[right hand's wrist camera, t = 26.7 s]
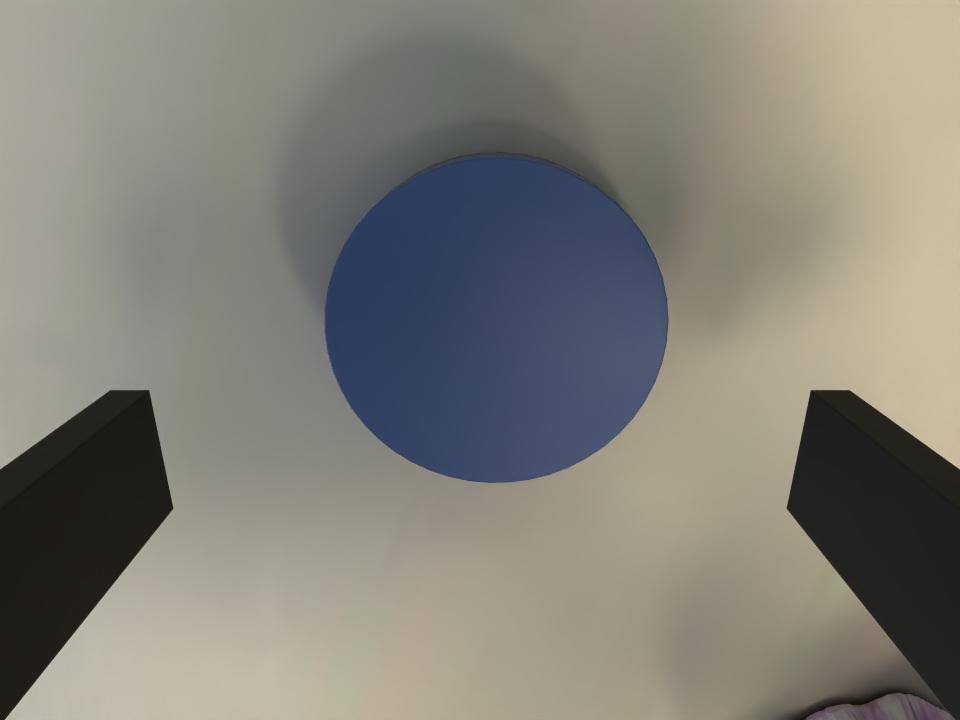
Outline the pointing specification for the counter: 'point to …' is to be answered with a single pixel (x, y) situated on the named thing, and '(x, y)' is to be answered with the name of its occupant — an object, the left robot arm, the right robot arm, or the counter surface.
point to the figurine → (885, 710)
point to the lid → (496, 318)
